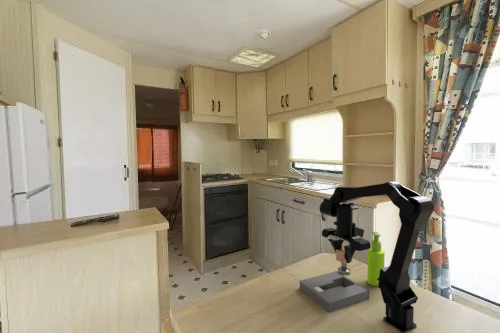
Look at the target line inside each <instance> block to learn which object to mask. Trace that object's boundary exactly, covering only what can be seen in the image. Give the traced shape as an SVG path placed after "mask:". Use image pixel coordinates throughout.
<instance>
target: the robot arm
mask: <svg viewBox="0 0 500 333" xmlns="http://www.w3.org/2000/svg"><path fill="white" fill-rule="evenodd" d="M376 196H377V197H378V196H387V197H388V199H389V200H390V201H391V202H392V204H393V205H394V206H395V207H397V208H398V209H399V212H398V217H399V220H400V228H399V232H398V236H397V239H396V242H395V246H394V249H393V252H392V256H391V261H390V264H389V266H386V267H385V266H384V268H382V269H380V274H379V278H378V279H377V281H379V282H378V286H379V287H378V286H377V287H378V288H379V291H380V293H381V296H382V299H383V303H384V304H385V316H384V317H383V318H382V319H383V321H384V322H386V323H388V324H389V325H391V326H392V327H394V328H395V329H396V330H398V331H400V332H401V333H406V332H408V331H410V330H412V329H414V328H416V327H417V326H418V325H417V323H415V322H414V312H415V311H414V309H415V308H414V306H412V305H414V304H416V303H417V301H418V299H419V297H418V296H417V294H416V292H415V291H414V290H413V289H412V287H411V286H410V283H411V277H410V275H409V269H410V266H411V265H410V264H411V261H412V258H413V256H414V252H415V249H416V245H417V242H418V239H419V235H420V233H421V230H422V228H423V227H424V226H425V225H426V223H427V222H428V221H429V220H430V218H431V216H432V214H433V213H434V211H435V204H434V202H432V200H431V199H430V198H429V197H427V196H424V195H421V194H420V193H418V192H416V191H414V190H412V189H410V188H408V187H406V186H404V185H403V184H401V183H400V182H398V181H386V182H383V183H378V184H372V185H365V186H364V185H363V186H351V185H348V186H337V187H335V188H334V191H333V193H332V194H331V196H330V198H329V197H324V198H323V201H322V202H321V203H320V205H319V212H320V213H321V214H322V215H325V216H328V217H332V218H336V221H333V225H335V226H336V228H334V227H329V228H327V227H326V228H323V229H322V231H321V237H324V238H325V239H326V238H328V239H327V241H328V242H330V245H331V246H332V248H333V250H334V252H335V253H336V249H341V248H344V250H345V255H346V260H347V264H350V263H352V262H351V259H352V260H353V256H354V254H355V252H356V251H358V252H361V251H365V250H367V251H368V249H370V248H371V244H372V243H371V242H370V241H369V240H368V239H365V238H364V233H365V229H362V228H360V227H357V226H356V223H355V222H353V217H354V216H353V214H354V212H353V211H354V210H355V211H356V210H358V209H359V207H358V206H357V205H356V204H355V202H353V201H357V200H359V199H362V198H367V197H376ZM348 202H349V203H348ZM344 242H346V243H347V245H343V243H344Z"/></svg>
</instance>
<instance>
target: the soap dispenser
mask: <svg viewBox="0 0 500 333" xmlns="http://www.w3.org/2000/svg"><path fill="white" fill-rule="evenodd" d="M370 234H372V235H373V240H371V243H370V244H371V245H370V249H367V283H368V284H369V285H371V286H373V287H378V288H379V286H378V282H379V281H377V279H378V278H379V274H380V269H382V268H385V254H386V253H385V250H383V249H382V242H381V241H380V240H379V239H380V237H381V234H380V233H379V232H377V231H370Z"/></svg>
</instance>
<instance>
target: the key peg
mask: <svg viewBox="0 0 500 333" xmlns="http://www.w3.org/2000/svg"><path fill="white" fill-rule="evenodd" d="M335 260H336V261H337V262H340V266H339V267H337V272H338V273H339V274H341V275H344V276H350V275H351V269H350V267H349V268H348V263H347V260H346V255H345V250H344V247H342V248H341V249H336V252H335ZM350 263H353V258H352V259H351V262H350Z"/></svg>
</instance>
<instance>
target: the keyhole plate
mask: <svg viewBox="0 0 500 333" xmlns="http://www.w3.org/2000/svg"><path fill="white" fill-rule="evenodd" d="M344 286H345V287H344ZM299 289H300V290H301V291H303V293H305V294H306V295H307V296H308V297H310V298H311V299H313V301H314V302H316V303H317V304H319V306H321V307H322V308H323V309H324V310H326V311H327V312H328V313H331V312H334V311H336V310H340V309H342V308H345V307H349V306H351V305H354V304H357V303H360V302H362V301H365V300H368V299H370V289H368V288H366V287H365V286H364V285H362V284H359V283H358V282H357V281H354V280H352V279H351V278H349V277H348V276H346V275H341V274H339V273H338V270H337V271H332V272H331V271H330V272H327V273H324V274H320V275H317V276H312V277H309V278H305V279H301V280H299Z"/></svg>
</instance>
